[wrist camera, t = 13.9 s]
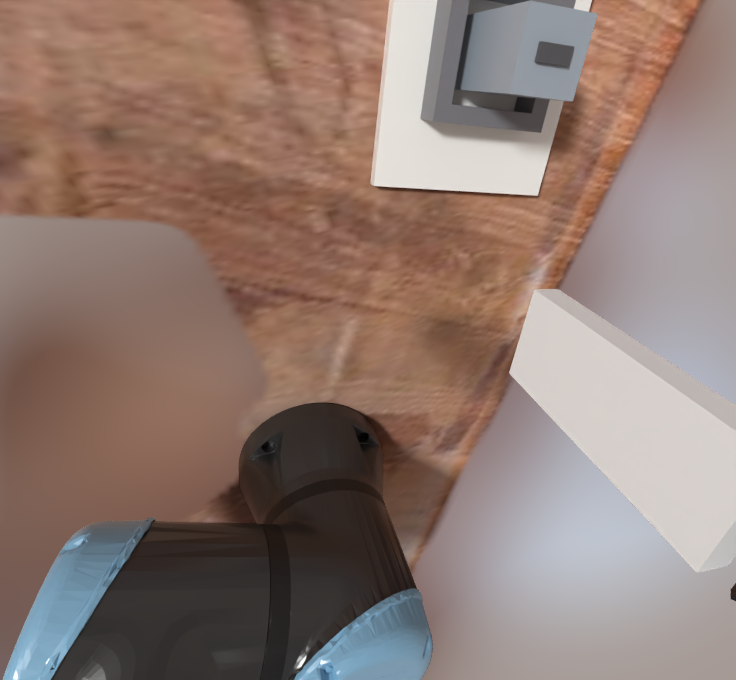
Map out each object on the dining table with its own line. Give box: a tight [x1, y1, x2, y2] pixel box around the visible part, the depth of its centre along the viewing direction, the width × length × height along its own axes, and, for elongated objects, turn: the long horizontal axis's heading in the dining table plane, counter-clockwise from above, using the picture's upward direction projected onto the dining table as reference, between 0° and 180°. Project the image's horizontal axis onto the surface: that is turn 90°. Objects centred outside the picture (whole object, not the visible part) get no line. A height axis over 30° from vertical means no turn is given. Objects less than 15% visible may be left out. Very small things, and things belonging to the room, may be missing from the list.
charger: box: [454, 0, 598, 102], centre depth 30 cm, size 4×4×8 cm
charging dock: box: [370, 0, 592, 196], centre depth 33 cm, size 16×15×4 cm
